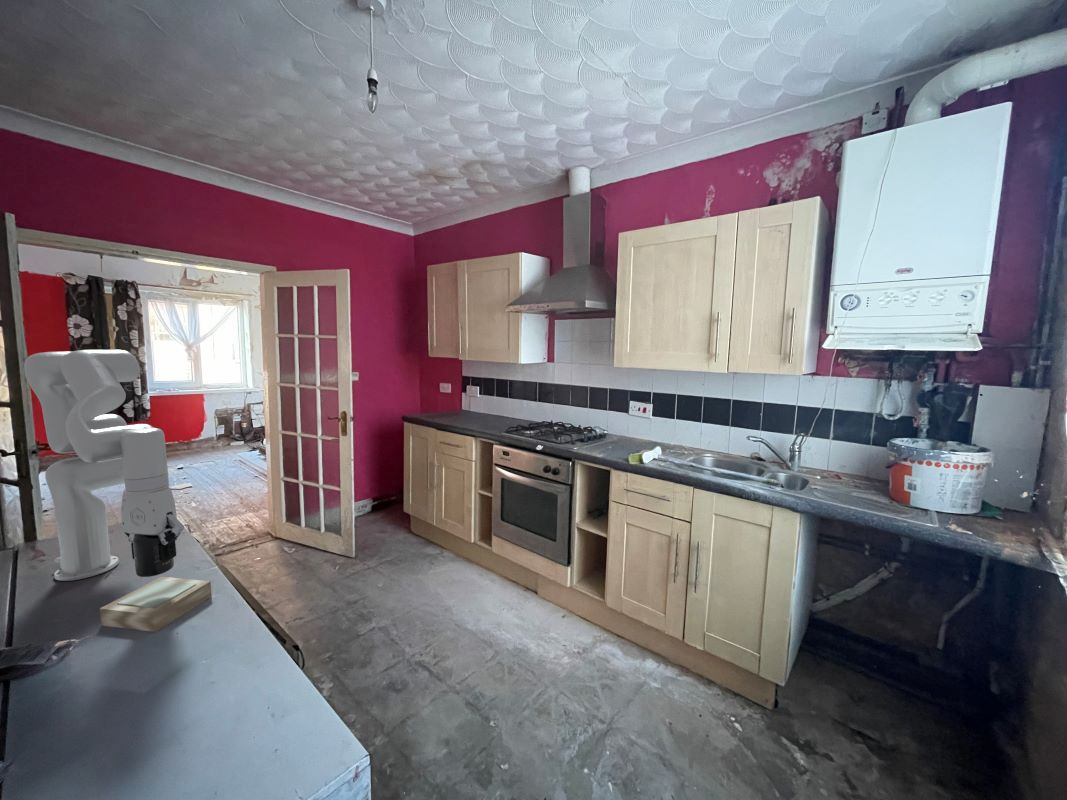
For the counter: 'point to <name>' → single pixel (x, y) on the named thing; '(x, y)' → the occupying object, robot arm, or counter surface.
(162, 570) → the supplement bottle
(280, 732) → the counter surface
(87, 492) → the robot arm
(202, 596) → the birch stand
